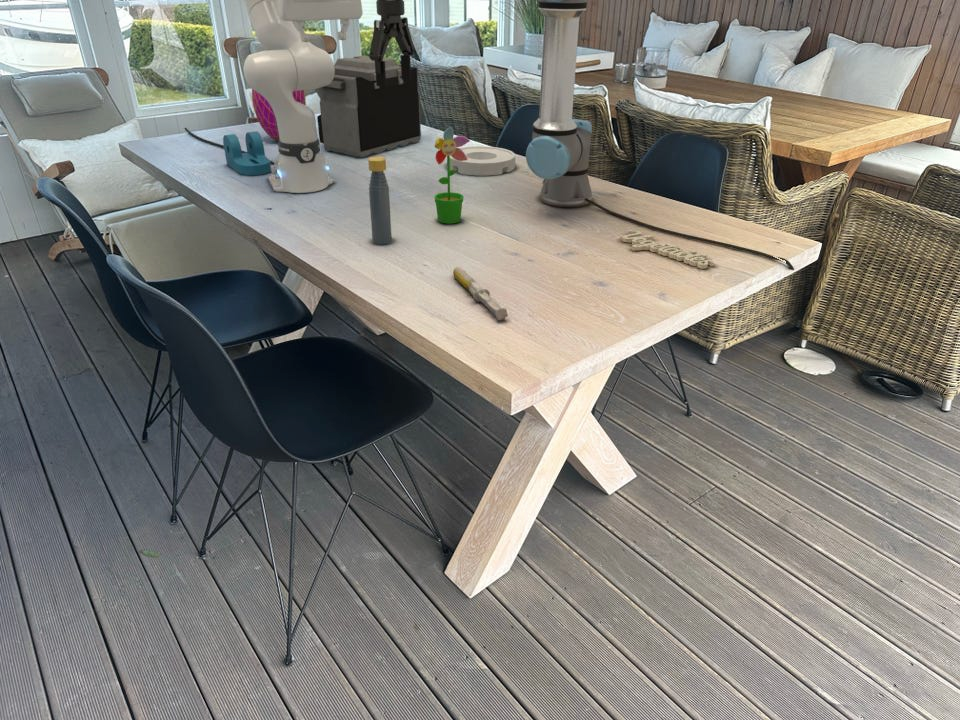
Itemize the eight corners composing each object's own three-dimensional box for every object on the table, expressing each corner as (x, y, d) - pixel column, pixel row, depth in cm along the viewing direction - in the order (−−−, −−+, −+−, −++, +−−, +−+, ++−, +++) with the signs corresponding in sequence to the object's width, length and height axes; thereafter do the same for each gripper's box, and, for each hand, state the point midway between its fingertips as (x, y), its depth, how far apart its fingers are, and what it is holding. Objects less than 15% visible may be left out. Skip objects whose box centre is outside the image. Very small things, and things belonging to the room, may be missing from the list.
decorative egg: (293, 132, 276) (283, 50, 261) (319, 140, 264) (310, 56, 249) (249, 139, 265) (236, 54, 250) (273, 148, 253) (261, 60, 238)
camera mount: (227, 164, 233) (221, 132, 227) (257, 160, 238) (252, 129, 233) (244, 176, 220) (239, 143, 215) (276, 172, 225) (271, 139, 220)
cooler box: (383, 133, 276) (378, 52, 261) (425, 141, 265) (422, 56, 250) (314, 150, 251) (304, 61, 235) (358, 160, 240) (350, 67, 224)
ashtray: (449, 157, 245) (449, 145, 243) (514, 158, 244) (514, 146, 242) (444, 174, 225) (444, 162, 223) (515, 176, 224) (515, 164, 222)
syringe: (449, 274, 155) (449, 263, 153) (465, 272, 156) (464, 260, 154) (490, 323, 135) (491, 310, 133) (508, 319, 136) (508, 307, 134)
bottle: (393, 238, 174) (389, 158, 164) (389, 245, 170) (384, 163, 160) (375, 237, 175) (370, 157, 165) (370, 244, 171) (364, 162, 161)
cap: (388, 167, 165) (387, 157, 164) (383, 171, 161) (383, 161, 160) (371, 166, 165) (370, 156, 164) (366, 171, 162) (366, 160, 161)
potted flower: (440, 227, 182) (438, 129, 169) (428, 218, 188) (425, 123, 175) (472, 221, 185) (472, 126, 173) (459, 213, 191) (459, 120, 179)
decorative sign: (607, 237, 173) (632, 229, 179) (607, 241, 174) (631, 232, 180) (698, 269, 156) (722, 258, 162) (697, 273, 157) (721, 262, 163)
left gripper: (353, -25, 167) (358, 37, 174) (270, -25, 157) (279, 41, 164) (364, -25, 162) (368, 40, 169) (280, -24, 153) (288, 44, 160)
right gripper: (401, -4, 196) (405, 76, 206) (351, 0, 176) (358, 88, 187) (424, -3, 193) (427, 78, 204) (376, 1, 173) (382, 90, 184)
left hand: (324, 40), depth 167 cm, fingers open, 8 cm apart
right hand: (394, 83), depth 195 cm, fingers open, 13 cm apart
